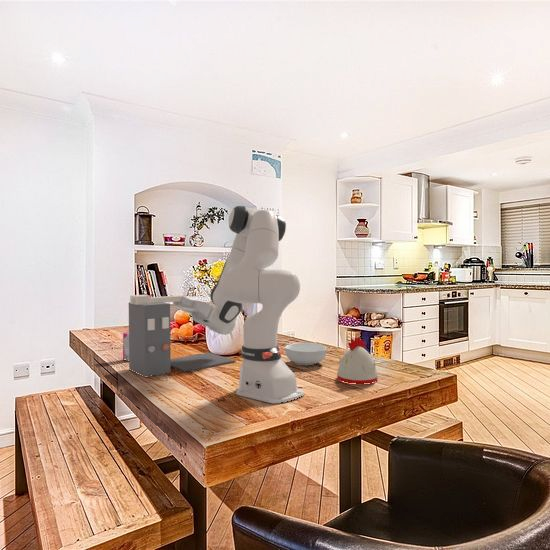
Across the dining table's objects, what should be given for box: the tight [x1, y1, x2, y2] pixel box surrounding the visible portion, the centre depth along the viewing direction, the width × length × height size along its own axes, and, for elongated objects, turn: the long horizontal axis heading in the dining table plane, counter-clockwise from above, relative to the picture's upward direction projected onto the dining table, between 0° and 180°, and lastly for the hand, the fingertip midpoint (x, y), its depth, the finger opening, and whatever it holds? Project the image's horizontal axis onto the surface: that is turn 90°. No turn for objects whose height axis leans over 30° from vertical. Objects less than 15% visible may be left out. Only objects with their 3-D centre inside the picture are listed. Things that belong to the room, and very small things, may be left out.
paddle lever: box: [129, 294, 185, 305], centre depth 160 cm, size 6×20×3 cm, turn 132°
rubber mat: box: [171, 352, 236, 373], centre depth 172 cm, size 20×24×1 cm
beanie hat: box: [336, 336, 378, 384], centre depth 148 cm, size 14×14×15 cm
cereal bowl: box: [284, 342, 328, 367], centre depth 171 cm, size 17×17×7 cm
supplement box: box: [122, 332, 129, 360], centre depth 177 cm, size 6×6×12 cm
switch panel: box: [128, 302, 172, 377], centre depth 158 cm, size 15×10×26 cm
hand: (176, 297), depth 165 cm, fingers open, 8 cm apart
